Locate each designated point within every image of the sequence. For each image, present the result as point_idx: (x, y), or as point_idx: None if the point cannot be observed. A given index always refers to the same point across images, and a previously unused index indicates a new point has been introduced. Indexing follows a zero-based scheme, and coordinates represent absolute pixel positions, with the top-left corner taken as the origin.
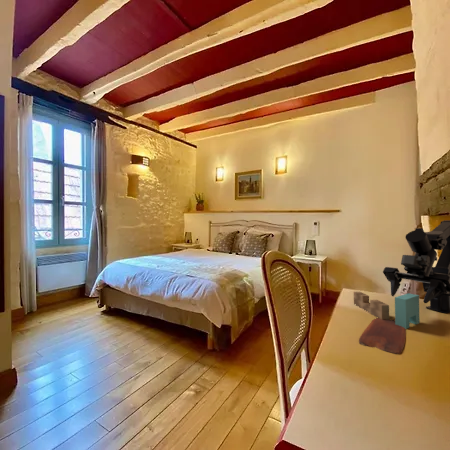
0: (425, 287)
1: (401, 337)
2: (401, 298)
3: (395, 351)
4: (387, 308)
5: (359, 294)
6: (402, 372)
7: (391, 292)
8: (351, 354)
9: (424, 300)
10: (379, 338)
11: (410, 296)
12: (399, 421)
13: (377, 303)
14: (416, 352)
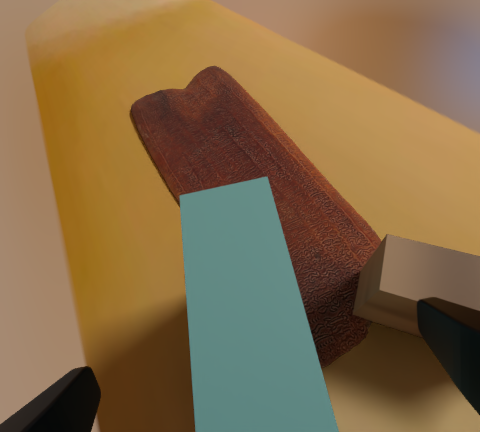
0: None
1: (172, 170)
2: (218, 198)
3: (138, 100)
4: (372, 283)
5: None
6: (98, 70)
7: (451, 304)
8: (188, 39)
9: (73, 369)
10: (196, 105)
11: (224, 363)
12: (63, 16)
13: (447, 249)
14: (111, 147)
